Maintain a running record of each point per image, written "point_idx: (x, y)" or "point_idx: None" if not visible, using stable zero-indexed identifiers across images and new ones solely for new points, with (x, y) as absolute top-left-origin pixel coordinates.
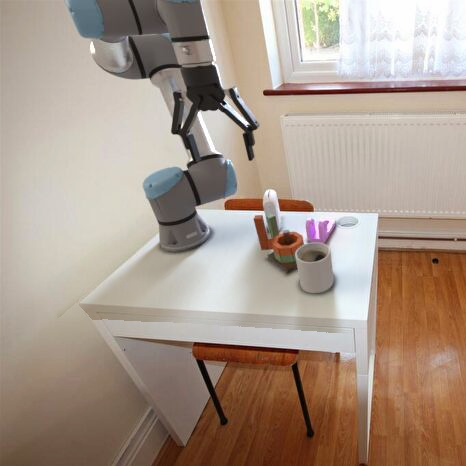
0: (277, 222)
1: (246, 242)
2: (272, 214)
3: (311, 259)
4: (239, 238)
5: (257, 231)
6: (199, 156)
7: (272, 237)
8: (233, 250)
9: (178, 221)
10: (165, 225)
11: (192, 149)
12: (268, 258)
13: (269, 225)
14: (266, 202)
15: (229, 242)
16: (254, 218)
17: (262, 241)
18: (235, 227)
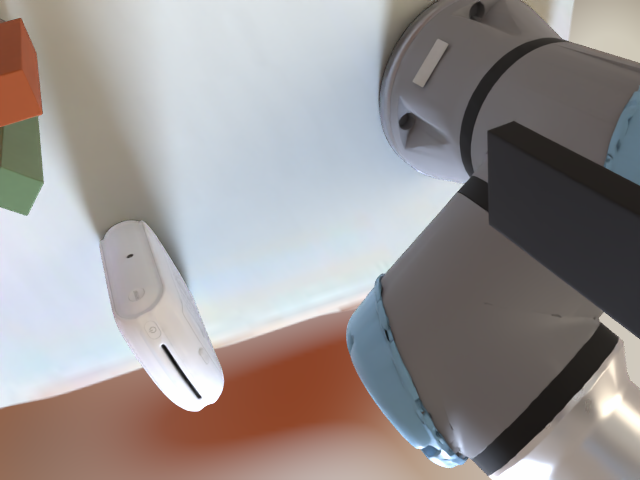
0: (105, 261)
1: (203, 124)
2: (11, 207)
3: None
4: (251, 143)
5: (16, 47)
6: (513, 230)
7: (19, 123)
8: (227, 56)
9: (503, 68)
10: (546, 38)
11: (599, 196)
12: (2, 21)
13: (23, 152)
14: (151, 309)
15: (278, 106)
16: (18, 75)
17: (1, 34)
18: (310, 206)
